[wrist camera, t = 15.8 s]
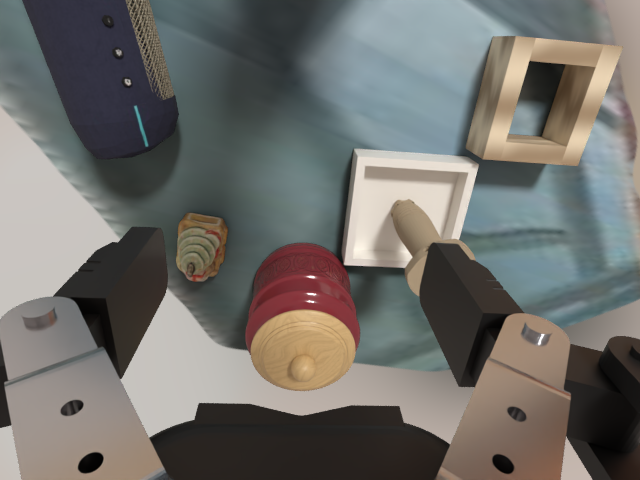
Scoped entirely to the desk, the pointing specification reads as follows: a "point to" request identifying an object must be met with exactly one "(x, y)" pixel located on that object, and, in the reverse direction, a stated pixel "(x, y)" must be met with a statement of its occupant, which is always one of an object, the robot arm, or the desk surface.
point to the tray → (402, 184)
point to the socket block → (567, 109)
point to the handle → (417, 238)
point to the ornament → (200, 245)
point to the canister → (302, 318)
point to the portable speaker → (107, 72)
